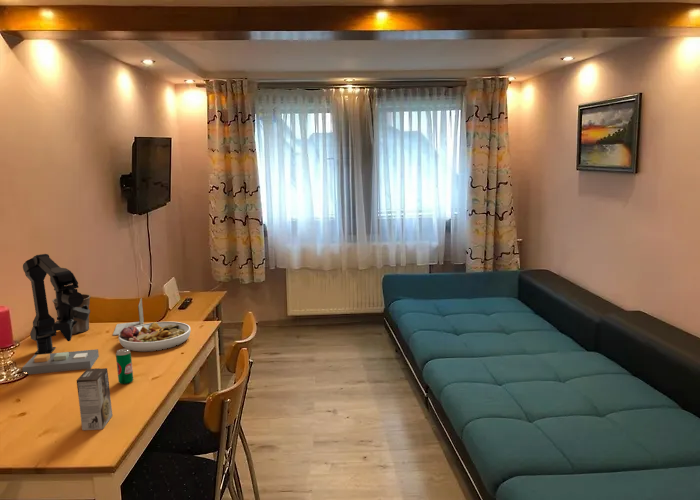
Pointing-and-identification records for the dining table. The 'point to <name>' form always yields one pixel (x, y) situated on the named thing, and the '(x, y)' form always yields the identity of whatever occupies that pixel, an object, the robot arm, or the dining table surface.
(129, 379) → the soda can
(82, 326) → the plant pot
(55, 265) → the robot arm
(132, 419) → the dining table surface
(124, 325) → the laptop
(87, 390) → the coffee box
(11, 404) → the dining table surface
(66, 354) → the sage button
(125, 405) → the dining table surface
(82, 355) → the off white button
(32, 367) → the panel
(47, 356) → the orange button
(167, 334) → the bowl
